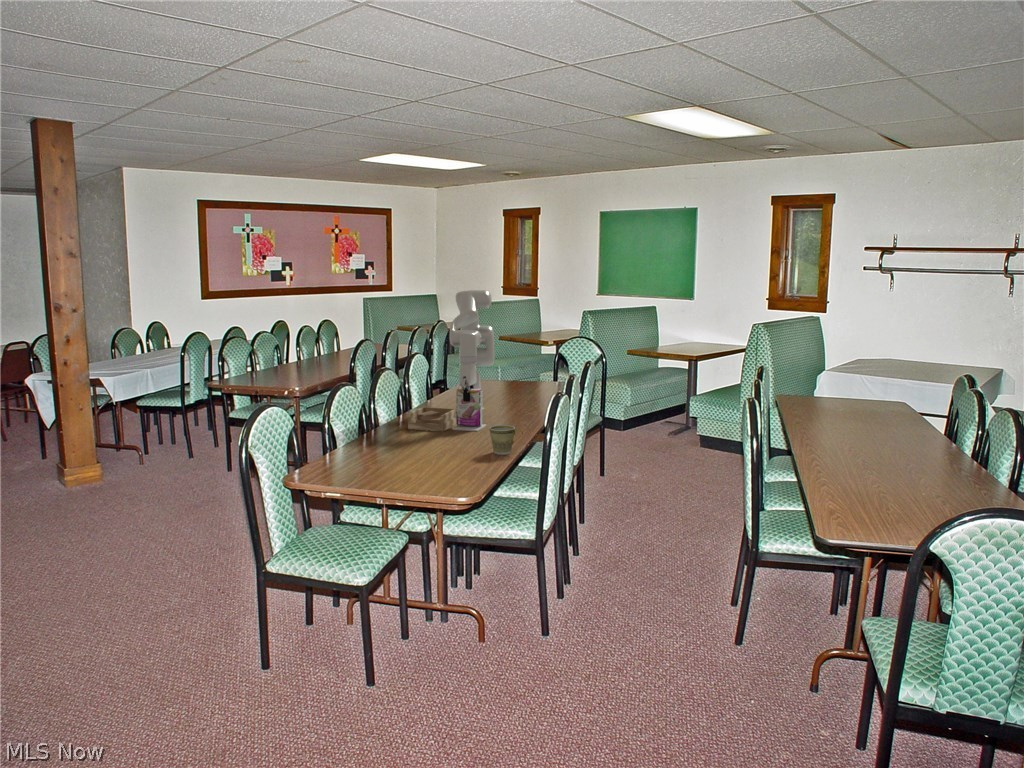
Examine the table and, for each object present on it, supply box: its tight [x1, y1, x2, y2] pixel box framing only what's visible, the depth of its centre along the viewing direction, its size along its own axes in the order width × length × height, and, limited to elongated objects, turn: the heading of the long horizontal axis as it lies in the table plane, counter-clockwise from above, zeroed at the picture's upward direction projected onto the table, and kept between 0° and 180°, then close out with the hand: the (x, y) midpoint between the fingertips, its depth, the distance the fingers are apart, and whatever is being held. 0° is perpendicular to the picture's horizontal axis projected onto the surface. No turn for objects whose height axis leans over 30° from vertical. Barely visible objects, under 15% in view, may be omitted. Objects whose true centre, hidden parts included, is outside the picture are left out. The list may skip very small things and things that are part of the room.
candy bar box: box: [456, 387, 484, 426], centre depth 337 cm, size 11×5×16 cm, turn 80°
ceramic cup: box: [488, 424, 524, 456], centre depth 292 cm, size 13×10×10 cm
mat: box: [451, 423, 487, 432], centre depth 338 cm, size 12×12×1 cm
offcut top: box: [417, 411, 440, 421], centre depth 337 cm, size 5×9×2 cm, turn 138°
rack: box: [407, 406, 457, 432], centre depth 341 cm, size 17×17×7 cm
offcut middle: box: [416, 417, 441, 424], centre depth 338 cm, size 6×11×2 cm, turn 81°
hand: (469, 399), depth 337 cm, fingers closed on candy bar box, 5 cm apart
